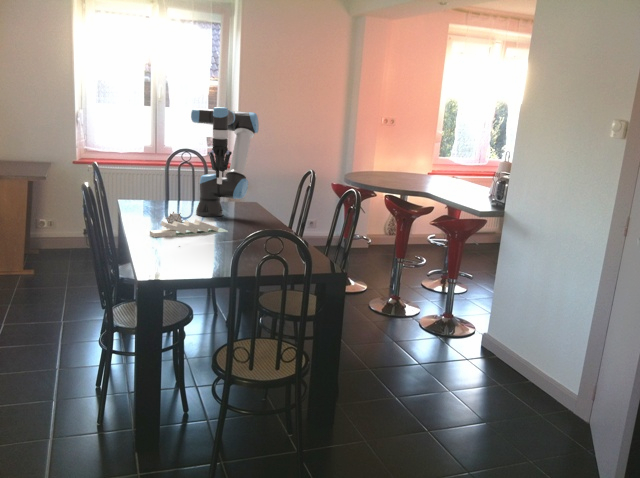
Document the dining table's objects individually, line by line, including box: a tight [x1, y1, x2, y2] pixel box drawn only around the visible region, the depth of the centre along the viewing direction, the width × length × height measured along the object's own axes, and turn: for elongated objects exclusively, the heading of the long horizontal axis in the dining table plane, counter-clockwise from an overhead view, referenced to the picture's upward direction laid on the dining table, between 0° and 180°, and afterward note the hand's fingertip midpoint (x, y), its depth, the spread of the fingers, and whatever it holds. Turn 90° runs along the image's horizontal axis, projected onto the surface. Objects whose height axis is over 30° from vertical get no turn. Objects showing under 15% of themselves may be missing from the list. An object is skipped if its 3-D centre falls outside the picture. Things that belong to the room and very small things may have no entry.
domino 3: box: [172, 221, 198, 233], centre depth 285 cm, size 2×5×11 cm
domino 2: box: [160, 221, 187, 234], centre depth 282 cm, size 2×5×11 cm
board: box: [171, 227, 230, 237], centre depth 290 cm, size 30×9×1 cm, turn 128°
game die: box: [164, 211, 185, 224], centre depth 299 cm, size 9×8×10 cm
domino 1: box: [149, 228, 177, 238], centre depth 279 cm, size 2×5×11 cm
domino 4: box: [183, 220, 208, 232], centre depth 289 cm, size 2×5×11 cm
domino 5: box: [193, 219, 220, 232], centre depth 292 cm, size 2×5×11 cm
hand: (219, 183), depth 308 cm, fingers closed
